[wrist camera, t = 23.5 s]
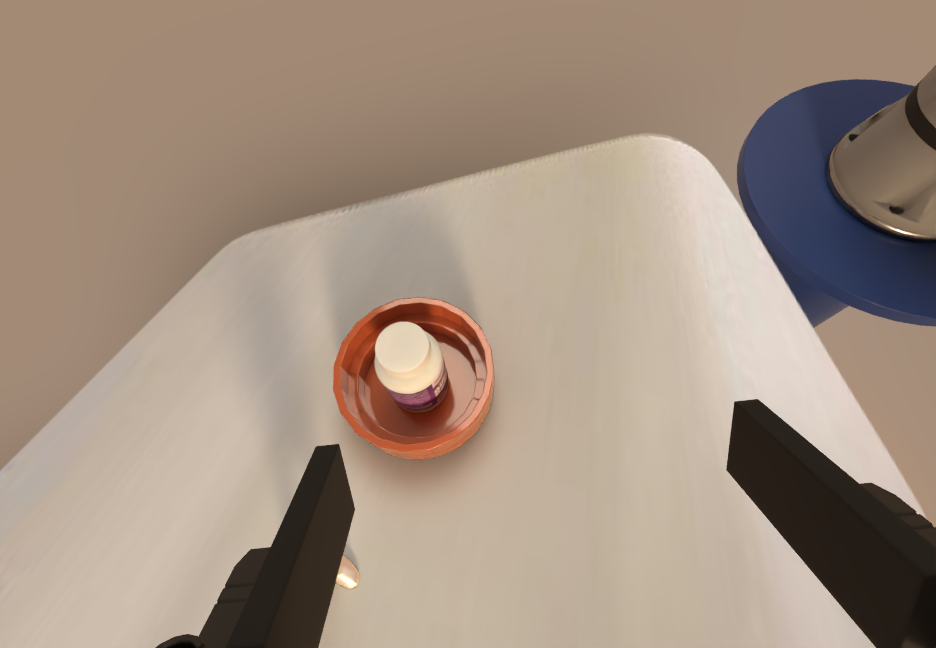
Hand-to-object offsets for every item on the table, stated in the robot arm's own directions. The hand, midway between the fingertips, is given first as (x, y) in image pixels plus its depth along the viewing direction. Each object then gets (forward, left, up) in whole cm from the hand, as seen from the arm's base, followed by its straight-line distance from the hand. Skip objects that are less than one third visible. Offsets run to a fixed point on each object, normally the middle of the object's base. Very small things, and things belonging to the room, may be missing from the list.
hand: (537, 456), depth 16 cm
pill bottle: (+7, -11, -25) cm, 28 cm away
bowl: (+7, -11, -25) cm, 28 cm away
